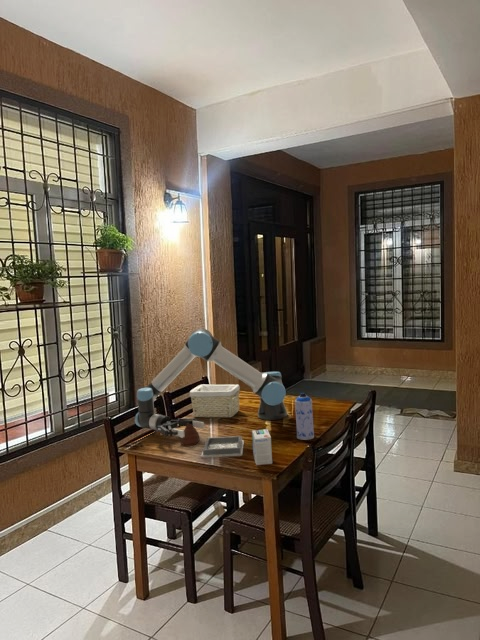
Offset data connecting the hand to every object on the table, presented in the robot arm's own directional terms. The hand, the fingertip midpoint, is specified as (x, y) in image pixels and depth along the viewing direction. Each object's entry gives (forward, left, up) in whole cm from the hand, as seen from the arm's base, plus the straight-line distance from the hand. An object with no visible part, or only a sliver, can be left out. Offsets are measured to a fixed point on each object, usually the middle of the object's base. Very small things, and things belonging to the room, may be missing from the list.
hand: (193, 429), depth 218 cm
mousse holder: (-14, +9, -6) cm, 18 cm away
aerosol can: (-50, -1, -7) cm, 50 cm away
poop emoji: (+3, -2, -7) cm, 8 cm away
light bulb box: (-31, +22, -7) cm, 39 cm away
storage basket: (-5, -45, -7) cm, 46 cm away
